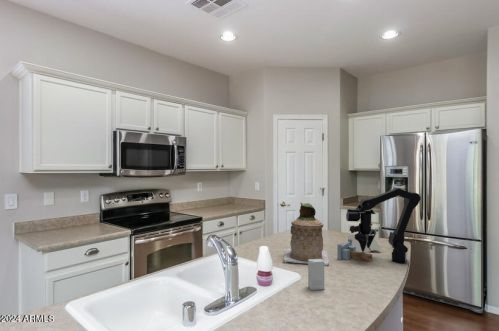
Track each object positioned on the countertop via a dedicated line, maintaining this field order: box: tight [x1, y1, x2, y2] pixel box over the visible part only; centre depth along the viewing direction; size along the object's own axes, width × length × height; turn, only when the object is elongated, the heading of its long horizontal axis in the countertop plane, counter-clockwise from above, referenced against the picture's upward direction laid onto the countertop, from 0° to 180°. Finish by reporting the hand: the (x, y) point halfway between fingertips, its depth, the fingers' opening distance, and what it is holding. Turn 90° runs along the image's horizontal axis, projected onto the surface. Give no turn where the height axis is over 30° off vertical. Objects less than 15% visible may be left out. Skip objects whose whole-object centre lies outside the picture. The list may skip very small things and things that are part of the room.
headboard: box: [336, 238, 356, 261], centre depth 174 cm, size 5×18×9 cm, turn 141°
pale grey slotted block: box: [347, 234, 382, 253], centre depth 190 cm, size 16×9×15 cm
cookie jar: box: [282, 202, 330, 267], centre depth 171 cm, size 25×25×32 cm
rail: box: [350, 250, 373, 263], centre depth 170 cm, size 13×4×4 cm, turn 51°
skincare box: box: [307, 259, 325, 291], centre depth 129 cm, size 6×4×12 cm
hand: (365, 249), depth 168 cm, fingers open, 9 cm apart
